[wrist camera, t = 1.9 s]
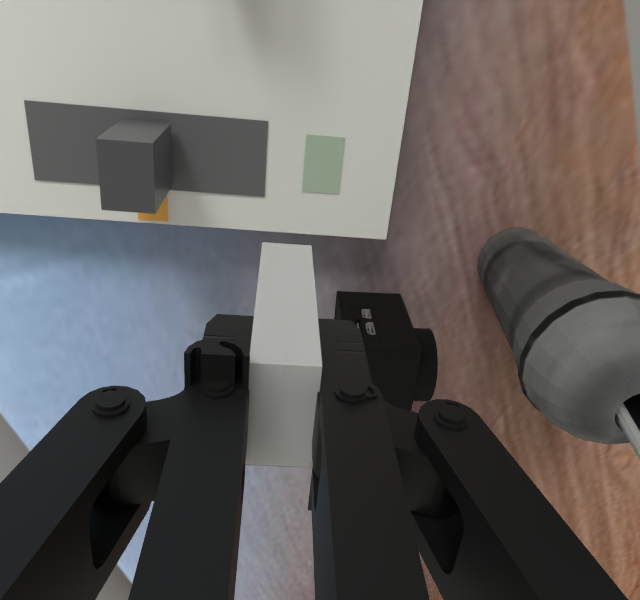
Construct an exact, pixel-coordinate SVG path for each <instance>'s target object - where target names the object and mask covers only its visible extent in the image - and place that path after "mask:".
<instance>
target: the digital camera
mask: <svg viewBox="0 0 640 600" xmlns="http://www.w3.org/2000/svg"><path fill="white" fill-rule="evenodd" d="M342 296H343V297H342ZM344 307H345V308H344ZM334 320H351V321H352V322H353V323H354V324H355V325H356V326H357V327H358V328H359V329H360V330H361V334H362V338H363V344H364V348H365V353H366V357H367V362H368V366H369V371H370V375H371V380H372V383H373V384H374V385H375V386H376V387H378V388H379V390H380V392H381V394H382V395H383V400H384V401H386V402H387V403H389V404H391V405H393V406H395V407H398V408H401V409H405V410H408V411H411V408H412V402H413V401H429V400H430V399H431V398H432V396H433V393H434V390H435V386H436V379H437V365H438V362H437V347H436V342H435V337H434V335H433V332H432V331H431V330H430V329H421V328H413V327H412V324H411V321H410V319H409V316H408V313H407V310H406V308H405V305H404V302H403V300H402V297H401V295H400V294H387V293H364V292H341V291H337V296H336V307H335V318H334Z"/></svg>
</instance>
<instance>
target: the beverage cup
mask: <svg viewBox="0 0 640 600" xmlns="http://www.w3.org/2000/svg"><path fill="white" fill-rule="evenodd" d="M478 271H479V275H480V278H481V279H482V282H483V286H484V289H485V292H486V294H487V296H488V298H489V300H490V303H491V305H492V307H493V309H494V311H495V313H496V316H497V318H498V320H499V322H500V324H501V327H502V329H503V331H504V333H505V335H506V338H507V340H508V342H509V344H510V346H511V349H512V351H513V354H514V357H515V361H516V365H517V369H518V377H519V380H520V384H521V388H522V391H523V393H524V395H525V396H526V397H527V398H528V400H529V401H530V402H531V403H532V404H533V406H534V407H535V408H536V409H538V410H539V411H541V412H542V413H543V415H544V416H545V417H546V418H547V419H548V420H549V421H550V422H551V423H553V424H554V425H556V426H557V427H559V428H561V429H563V430H564V431H566V432H568V433H570V434H572V435H573V436H575V437H577V438H580V439H583V440H587V441H592V442H598V443H603V444H619V443H629V442H630V443H631V445H632V447H633V449H634V451H635V452H636V454H637V456H638V458H639V460H640V294H636V293H634V292H633V291H631V290H629V289H627V288H625V287H622V286H620V285H618V284H615V283H611V282H609V281H608V280H606V279H605V278H603V277H602V276H600V275H599V274H597V273H596V272H594V271H593V270H591V269H590V268H589V267H587V266H586V265H584V264H583V263H581V262H580V261H578V260H577V259H575V258H574V257H572V256H571V255H569V254H568V253H567V252H565V251H564V250H562V249H561V248H559V247H558V246H556V245H555V244H553V243H552V242H550V241H549V240H547V239H546V238H545V237H543V236H540V235H538V234H537V233H535V232H534V231H532V230H529V229H525V228H510V229H507V230H504V231H502V232H499V233H498V234H496V235H495V236H493V237H492V238H491V239H489V241H488V242H487V243H486V244H485V245H484V247H483V248H482V250H481V253H480V255H479V257H478Z"/></svg>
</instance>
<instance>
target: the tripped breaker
mask: <svg viewBox="0 0 640 600" xmlns="http://www.w3.org/2000/svg"><path fill="white" fill-rule="evenodd" d="M96 150H97V162H98V174H99V186H100V197H101V209H102V210H108V211H122V212H136V213H150V214H156V212H157V211H158V209H159V207H160V206H161V204H162V202H163V201H164V199H165V197H166V196H167V194H168V192H169V191H170V189H171V187H172V186H173V185H172V145H171V123H162V122H150V121H138V120H126V119H121V120H120V121H118V122H117V123H116V124H114V125H113V126H112V127H110V128H109V129H108V130H106V131H105V132H104V133H102V134H101V135H100V136H98V137H97V138H96Z"/></svg>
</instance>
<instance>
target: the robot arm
mask: <svg viewBox="0 0 640 600" xmlns="http://www.w3.org/2000/svg"><path fill="white" fill-rule="evenodd" d="M184 372H185V387H184V390H183V391H182V392H180V393H179V394H177V395H174V396H172V397H169V398H165V399H161V400H155V401H149V402H146V401H145V397H144V396H143V395H142V394H141V393H140V392H139V391H138V390H135V389H133V388H130V387H126V386H109V387H103V388H99V389H97V390H94V391H91V392H89V393H88V394H86V395H85V396H84V397H82V398H81V399H80V400H79V401H78V402H77V403H76V404H75V405H74V406H73V407H72V408H71V409H70V410H69V411H68V412H67V413H66V414H65V415H64V417H63V418H62V419H61V420H60V421H59V422H58V423H57V424H56V425H55V426H54V427H53V428H52V429H51V430H50V431H49V432H48V433H47V434H46V436H45V437H44V438H43V439H42V440H41V441H40V442H39V443H38V444H37V445H36V446H35V447H34V448H33V449H32V450H31V451H30V452H29V453H28V455H27V456H26V457H25V458H24V459H23V460H22V461H21V462H20V463H19V464H18V465H17V466H16V467H15V468H14V470H12V471H11V473H10V474H9V475H8V476H7V477H6V478H5V479H4V480H3V481H2V482H1V483H0V600H95V599H96V597H97V596H98V594H99V592H100V591H101V589H102V587H103V586H104V584H105V582H106V581H107V579H108V577H109V576H110V574H111V572H112V570H113V569H114V567H115V566H116V564H117V562H118V561H119V559H120V557H121V555H122V554H123V552H124V550H125V549H126V547H127V545H128V544H129V542H130V540H131V539H132V537H133V535H134V534H135V532H136V530H137V529H138V527H139V525H140V524H141V522H142V520H143V519H144V517H145V515H146V514H147V512H148V510H149V507H150V504H151V501H154V500H155V501H154V505H153V508H152V512H151V516H150V520H149V523H148V527H147V531H146V535H145V538H144V542H143V546H142V550H141V554H140V557H139V561H138V565H137V569H136V572H135V576H134V580H133V584H132V588H131V592H130V595H129V599H128V600H234V593H235V582H236V571H237V560H238V549H239V537H240V526H241V515H242V504H243V492H244V480H245V465H258V466H285V467H311V463H312V460H313V469H312V478H311V486H310V495H309V504H308V510H312V530H313V555H314V580H315V600H429V595H428V591H427V586H426V582H425V578H424V573H423V569H422V565H421V560H420V556H419V552H420V554H421V556H422V558H423V560H424V562H425V564H426V566H427V568H428V570H429V572H430V574H431V576H432V578H433V580H434V582H435V583H436V585H437V587H438V589H439V591H440V593H441V595H442V597H443V599H444V600H628V599H627V598H626V597H625V595H624V594H623V593H622V592H621V590H620V589H619V588H618V587H617V585H616V584H615V583H614V582H613V580H612V579H611V578H610V577H609V576H608V574H607V573H606V572H605V571H604V569H603V568H602V567H601V566H600V564H599V563H598V562H597V561H596V560H595V558H594V557H593V556H592V555H591V553H590V552H589V551H588V550H587V548H586V547H585V546H584V545H583V543H582V542H581V541H580V540H579V539H578V537H577V536H576V535H575V534H574V532H573V531H572V530H571V529H570V527H569V526H568V525H567V524H566V522H565V521H564V520H563V519H562V518H561V516H560V515H559V514H558V513H557V511H556V510H555V509H554V508H553V506H552V505H551V504H550V503H549V501H548V500H547V499H546V498H545V497H544V495H543V494H542V493H541V492H540V490H539V489H538V488H537V487H536V485H535V484H534V483H533V482H532V481H531V479H530V478H529V477H528V476H527V474H526V473H525V472H524V471H523V469H522V468H521V467H520V466H519V464H518V463H517V462H516V461H515V460H514V458H513V457H512V456H511V455H510V453H509V452H508V451H507V450H506V448H505V447H504V446H503V445H502V443H501V442H500V441H499V440H498V439H497V437H496V436H495V435H494V434H493V432H492V431H491V430H490V429H489V427H488V426H487V425H486V424H485V422H484V421H483V420H482V419H481V418H480V416H479V415H478V414H477V413H475V412H474V411H473V410H472V409H471V408H469V407H467V406H465V405H463V404H461V403H459V402H455V401H451V400H444V399H436V400H432V401H428V402H426V403H425V404H423V405H422V406H421V407H420V410H419V413H416V412H412V411H408V410H405V409H401V408H398V407H395V406H393V405H391V404H389V403H387V402H386V401H384V400H383V395H382V394H381V392H380V390H379V388H378V387H376V386H375V385H374V384H373V383H372V380H371V375H370V371H369V366H368V362H367V357H366V353H365V348H364V344H363V338H362V334H361V330H360V329H359V328H358V327H357V326H356V325H355V324H354V323H353V322H352V321H351V320H333V319H318V312H317V301H316V290H315V279H314V268H313V257H312V246H311V245H296V244H282V243H267V242H262V248H261V257H260V266H259V275H258V284H257V293H256V302H255V311H254V316H240V315H223V314H217V315H216V316H215V317H214V318H212V319H211V320H210V321H209V322H208V323H207V324H206V328H205V332H204V337H203V340H201V341H197V342H195V343H194V344H192V345H190V346H189V347H188V348H187V350H186V351H185V353H184ZM418 550H419V552H418Z"/></svg>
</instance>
